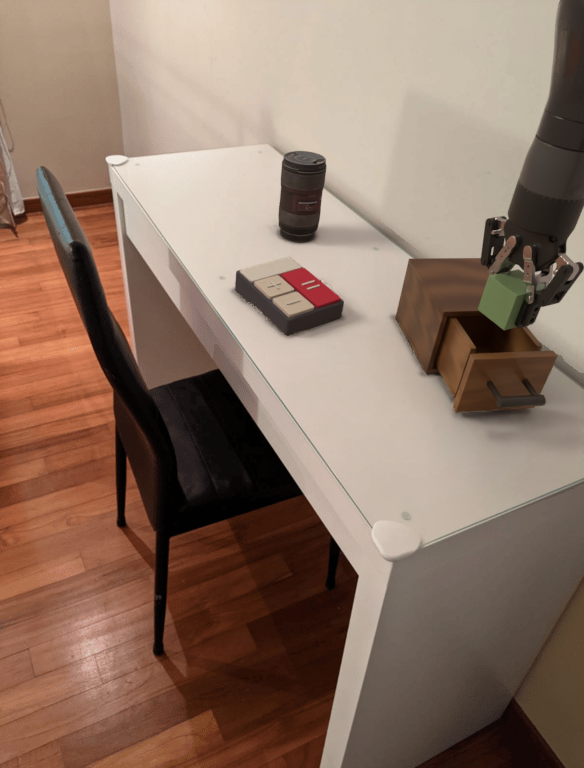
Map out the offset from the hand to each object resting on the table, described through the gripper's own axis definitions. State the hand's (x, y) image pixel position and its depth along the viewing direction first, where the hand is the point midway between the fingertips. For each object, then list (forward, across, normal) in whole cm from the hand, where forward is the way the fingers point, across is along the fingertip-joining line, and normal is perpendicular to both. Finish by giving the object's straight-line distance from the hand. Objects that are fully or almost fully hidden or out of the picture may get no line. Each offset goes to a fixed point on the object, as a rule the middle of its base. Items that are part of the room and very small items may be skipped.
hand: (506, 313), depth 77 cm
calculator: (+13, +29, +15) cm, 36 cm away
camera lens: (+13, +51, +2) cm, 53 cm away
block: (0, 0, 0) cm, 0 cm away
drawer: (+12, -1, 0) cm, 12 cm away
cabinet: (+13, +11, -3) cm, 17 cm away
